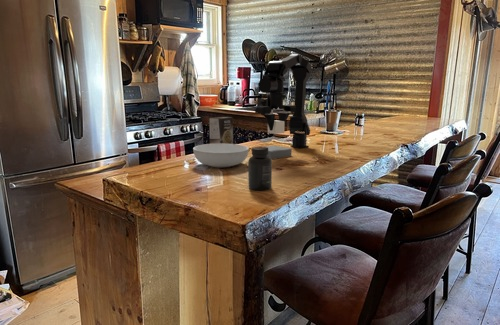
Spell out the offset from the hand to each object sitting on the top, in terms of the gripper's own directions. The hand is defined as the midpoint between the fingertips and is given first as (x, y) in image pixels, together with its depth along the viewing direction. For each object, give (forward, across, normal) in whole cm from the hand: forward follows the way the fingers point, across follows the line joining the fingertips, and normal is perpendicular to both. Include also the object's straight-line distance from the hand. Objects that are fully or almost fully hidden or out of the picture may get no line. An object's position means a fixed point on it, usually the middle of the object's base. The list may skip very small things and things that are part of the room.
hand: (275, 129), depth 153 cm
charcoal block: (+12, 0, -1) cm, 12 cm away
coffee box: (+11, +16, -17) cm, 26 cm away
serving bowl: (+11, +28, +1) cm, 31 cm away
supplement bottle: (+11, +37, +33) cm, 51 cm away
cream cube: (+1, 0, 0) cm, 1 cm away
